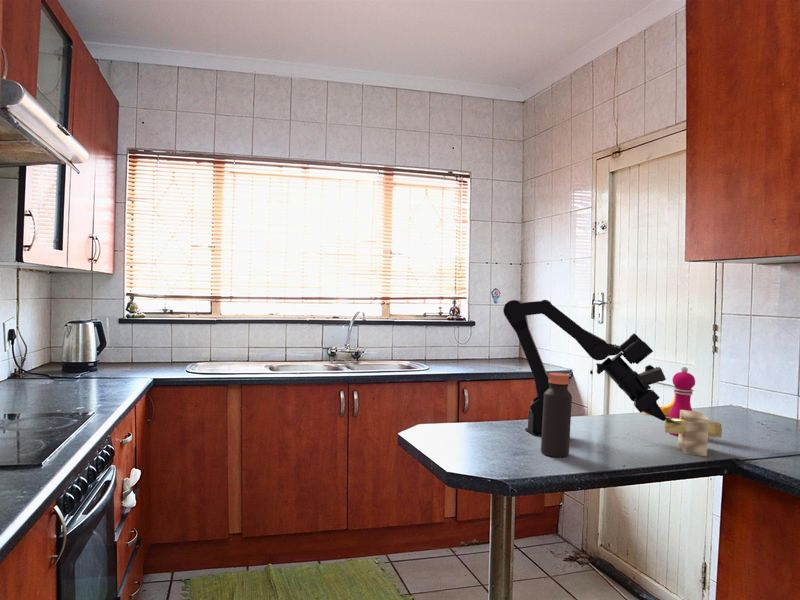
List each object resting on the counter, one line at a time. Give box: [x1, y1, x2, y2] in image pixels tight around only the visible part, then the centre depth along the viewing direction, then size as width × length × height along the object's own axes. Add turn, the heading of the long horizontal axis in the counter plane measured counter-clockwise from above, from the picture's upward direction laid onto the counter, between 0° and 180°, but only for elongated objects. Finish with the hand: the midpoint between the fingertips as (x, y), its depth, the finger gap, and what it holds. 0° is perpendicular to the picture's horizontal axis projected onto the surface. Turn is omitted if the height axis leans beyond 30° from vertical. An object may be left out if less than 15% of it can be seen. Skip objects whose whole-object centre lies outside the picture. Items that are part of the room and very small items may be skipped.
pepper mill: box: [667, 366, 696, 437], centre depth 169 cm, size 7×7×20 cm
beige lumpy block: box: [677, 410, 710, 457], centre depth 153 cm, size 5×10×10 cm, turn 164°
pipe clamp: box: [641, 395, 675, 416], centre depth 196 cm, size 12×4×6 cm, turn 74°
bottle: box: [540, 372, 573, 458], centre depth 143 cm, size 7×7×20 cm
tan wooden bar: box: [664, 416, 723, 439], centre depth 153 cm, size 13×4×4 cm, turn 74°
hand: (665, 419), depth 155 cm, fingers closed, pressing on tan wooden bar
